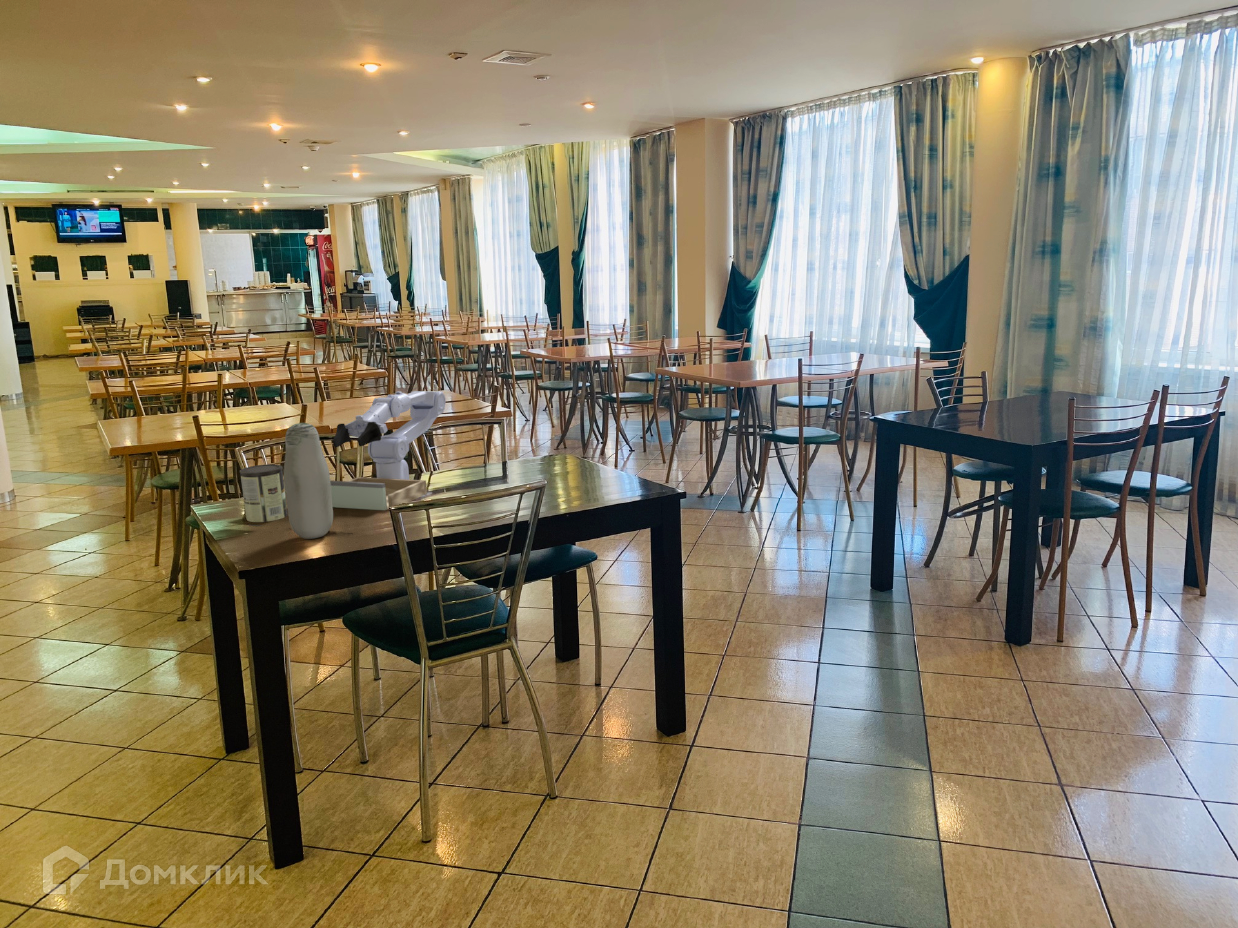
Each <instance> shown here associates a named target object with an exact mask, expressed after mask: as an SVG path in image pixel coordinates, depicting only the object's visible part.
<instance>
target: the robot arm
mask: <svg viewBox="0 0 1238 928" xmlns="http://www.w3.org/2000/svg"><path fill="white" fill-rule="evenodd" d="M446 402H447V401H446V396H445V394H444V392H443V391H442V390H441V391H440V390H439V391H435V390H434V391H428V390H426V391H422V390H420V391H419V390H418V391H417V390H413V391H411V392H409V393H405V392H402V391H395V394H388V395H387V396H386V397H377V398H376V397H375V398H374V399H373V401H372V404H371V405H370V407H369V408H368V410H366V412H365V413H363V414H359V415H358V414H357V415H356V416H355V420H353V421H351V422H349V423H346V424H345V423H338V424H337V425H336V433H335V435H334V437H333V439H332V440H331V441H332V444H333V447H334V448H339V447H341V446H342V445H344V444H346V443H352V439H351V436H352V437H355V438H357V440H356V441H357V444H358V447H363V446H366V445H367V453H368V456H369V458H370V459H372V460H373V461H372V462H374V463H375V469H376V478H386V479H406V480H410V474H409V473H410V472H409V465H408V462H407V461H406V460H405V459H404V458H405V457H406V455H407V453H408V452H409V451H410V443H413V441H415V440H416V439H418V437H420V436H422V435H423V434H425V432H427V431H428V430H429V429H430V428H431V427H432V425H433V423H434V422H435V421H436V420H437V418H438V417H439V416H440V415H442V414H444V412H445V408H446ZM407 411H410V412H409V414H410V415H409V417H411V419H409V420H408V421H407V422H406V423H404V424H403V425H401V426H400V427H399V428H397V429H396V430H394V431H393V432H392V433H390V434H386V433H387V432H388V430H389V429H388V427H387V424H386V423H387V422H388V421H389V420H390V419H391V418H399V417H400V415H401V414H403V413H404V412H407ZM382 434H383V435H382ZM384 434H385V435H384Z"/></svg>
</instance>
